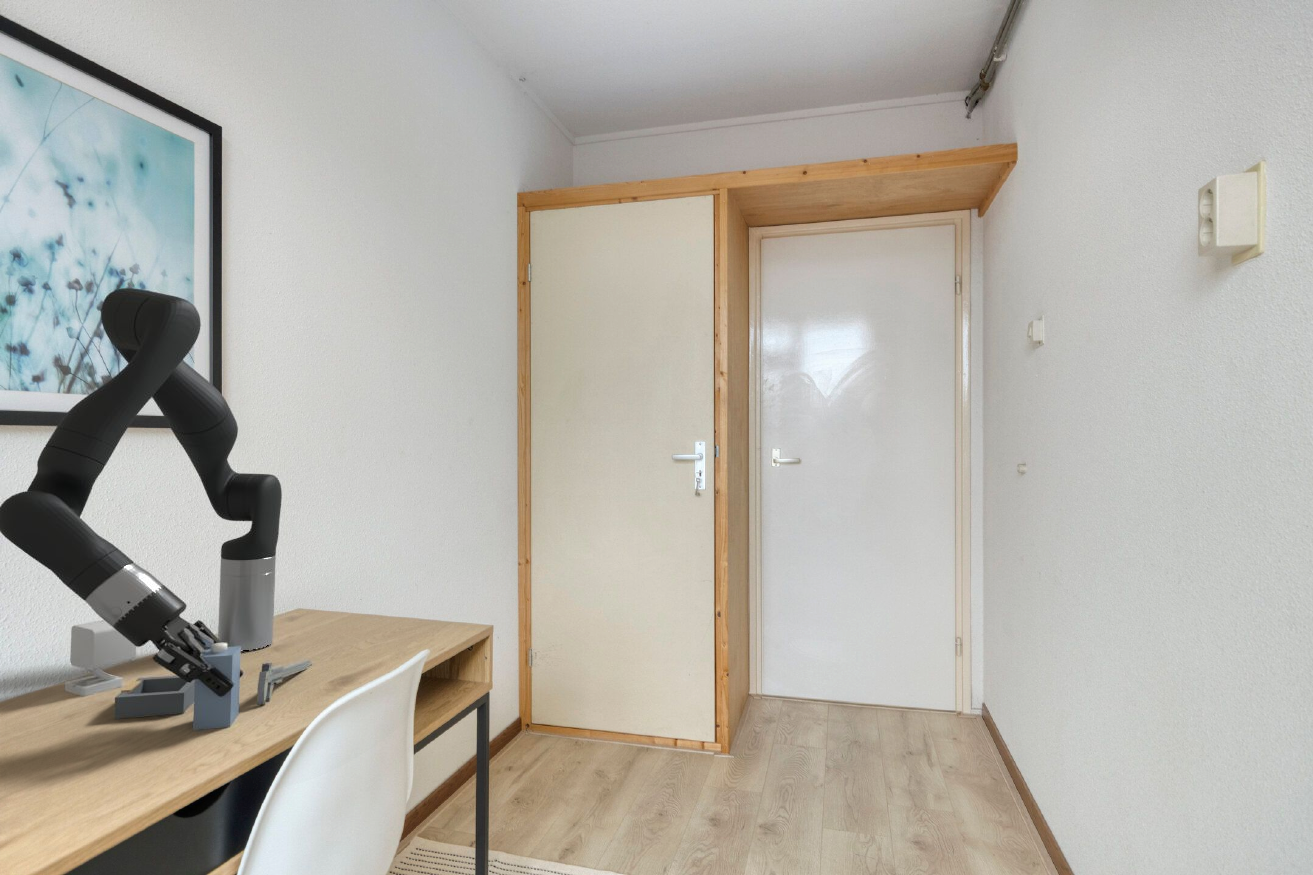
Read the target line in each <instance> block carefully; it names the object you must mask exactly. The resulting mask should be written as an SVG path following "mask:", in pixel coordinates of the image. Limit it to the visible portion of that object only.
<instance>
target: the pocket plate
mask: <svg viewBox="0 0 1313 875" xmlns="http://www.w3.org/2000/svg"><path fill="white" fill-rule="evenodd" d="M194 688H195V680H193V681H192V682H190V683H189V682H187V681H185V680H183V679H182V678H180V677H179V676H177V675H170V676H169V675H167V676H153V677H151V676H150V677H149V676H147V677H138V678H137V679H136V680H134V681H133V680H132V681H131V682H130V683H129V684H128V685H126V686H125V687H124V688H122V689H121V691H120V693H119V694H117V695H116V696H115V697H114V713H113V714H114V717H113V719H116V720H117V719H128V718H141V717H154V716H165V715H166V716H167V715H180V714H181V715H182V714H184V713H186V711H187V710H188V709H189V708H190V707H191V705H193V704H194Z"/></svg>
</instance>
